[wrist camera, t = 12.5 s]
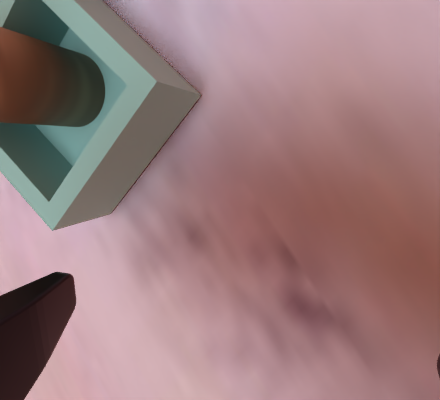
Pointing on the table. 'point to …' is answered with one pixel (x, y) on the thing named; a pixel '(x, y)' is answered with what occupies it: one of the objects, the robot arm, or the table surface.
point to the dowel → (47, 83)
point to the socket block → (102, 125)
